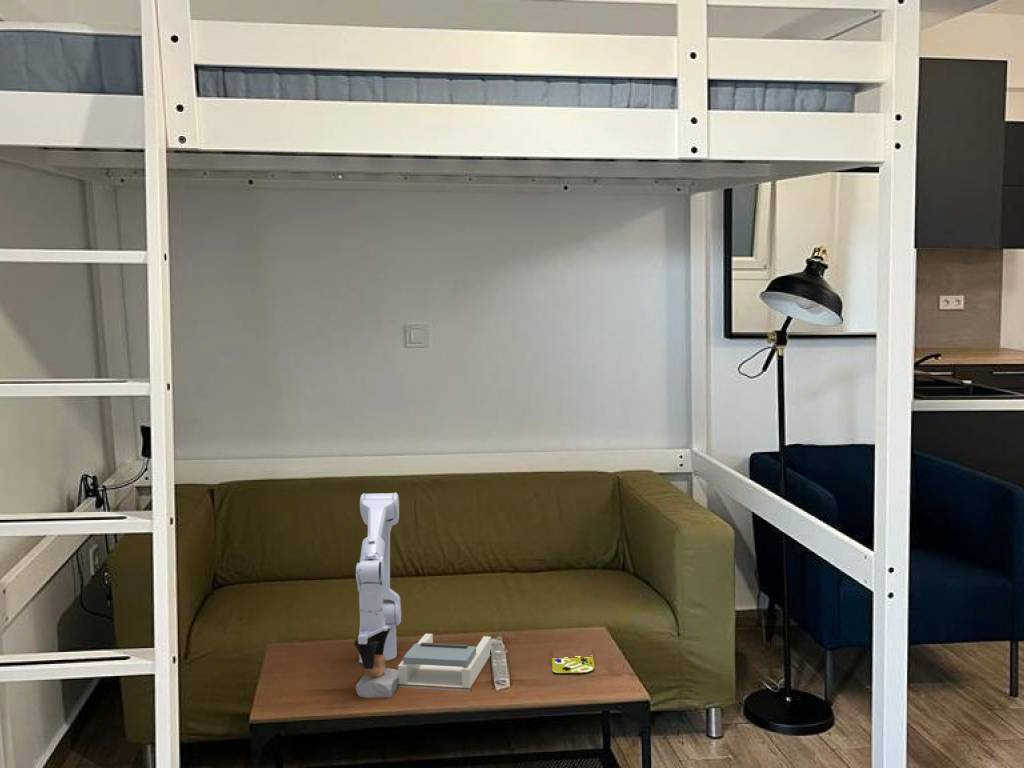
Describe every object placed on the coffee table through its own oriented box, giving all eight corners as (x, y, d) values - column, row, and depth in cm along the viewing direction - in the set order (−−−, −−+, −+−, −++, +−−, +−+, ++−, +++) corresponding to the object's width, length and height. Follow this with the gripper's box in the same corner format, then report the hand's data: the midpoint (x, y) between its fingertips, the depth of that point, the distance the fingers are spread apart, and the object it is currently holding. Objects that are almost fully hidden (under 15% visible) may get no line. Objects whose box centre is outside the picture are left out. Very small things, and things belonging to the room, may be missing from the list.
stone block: (354, 705, 241) (394, 698, 240) (350, 685, 241) (390, 679, 240) (369, 688, 253) (407, 681, 252) (365, 669, 253) (402, 663, 252)
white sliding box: (398, 687, 247) (398, 665, 246) (425, 653, 270) (425, 633, 270) (470, 691, 243) (469, 669, 243) (491, 656, 267) (491, 636, 266)
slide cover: (403, 663, 247) (403, 654, 247) (415, 649, 257) (414, 641, 257) (466, 667, 244) (466, 658, 244) (476, 652, 254) (475, 644, 253)
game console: (550, 652, 271) (550, 646, 271) (591, 651, 271) (591, 646, 271) (552, 677, 253) (552, 671, 253) (597, 676, 253) (596, 671, 253)
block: (364, 676, 245) (364, 659, 245) (369, 669, 249) (369, 654, 249) (380, 676, 244) (379, 660, 244) (385, 670, 248) (384, 655, 248)
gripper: (377, 618, 237) (379, 674, 238) (396, 600, 251) (397, 653, 253) (349, 617, 239) (350, 673, 240) (369, 599, 253) (371, 652, 254)
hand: (373, 663), depth 246 cm, fingers open, 6 cm apart
